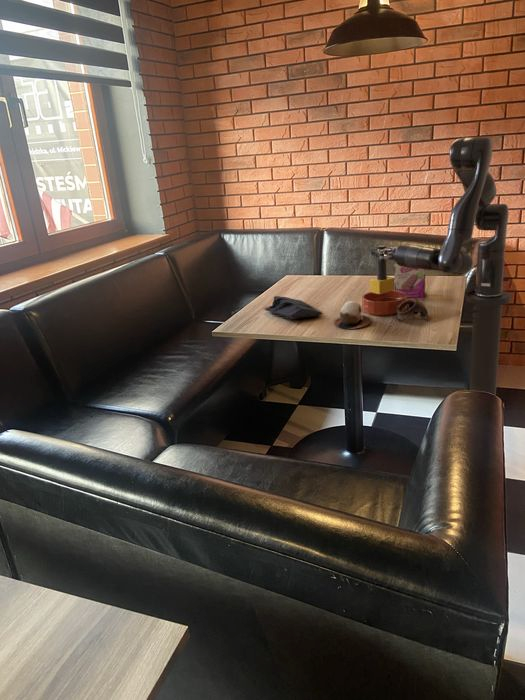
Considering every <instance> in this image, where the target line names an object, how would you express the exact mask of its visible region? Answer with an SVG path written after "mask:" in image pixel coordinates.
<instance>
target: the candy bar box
mask: <svg viewBox="0 0 525 700" xmlns="http://www.w3.org/2000/svg"><path fill="white" fill-rule="evenodd" d="M393 262H394V268H393V269H394V289H395V290H394V291H400V292H404V293H405V294H407V299H414V298H415V299H425V297H426V296H425V295H426V270H425V269H414V268H408V267H402V266H399V265H398V264H397V263H396V261H393Z"/></svg>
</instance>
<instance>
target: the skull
mask: <svg viewBox="0 0 525 700" xmlns="http://www.w3.org/2000/svg"><path fill="white" fill-rule="evenodd" d="M362 313H363V310H362V305H361V304H360V303H359V302H357V301H354V300H348V301H346V302H345V303H344V304H343V306H342V307H341V309H340V311H339V318H337V319H336V320H335V321H334V325H335V326H336V327H338V328H340V329H348V330H352V329H359V328H363V327H366V326H368V325H369V324H371V322H372V319H371V318H370V316H367V315H364V314H363V315H362Z"/></svg>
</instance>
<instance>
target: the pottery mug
mask: <svg viewBox="0 0 525 700" xmlns="http://www.w3.org/2000/svg"><path fill="white" fill-rule="evenodd" d="M406 305H407V308H408V309H406V310H404V311H402V312H400V311H401V309H402V308H403V307H405V306H406ZM418 314H419V315H420V318H425V319H426V322H429V321H430V317H429V313H428V309H427V308H426V306H425V305H424V304H423V303H422V302H421V301H418V298H407V300H406V301H404V302H403V303H401V304H400V305H399V306H398V310H397V320H398V321H400V322H401V320H406V319H409V318H413V319H415V315H418Z"/></svg>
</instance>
